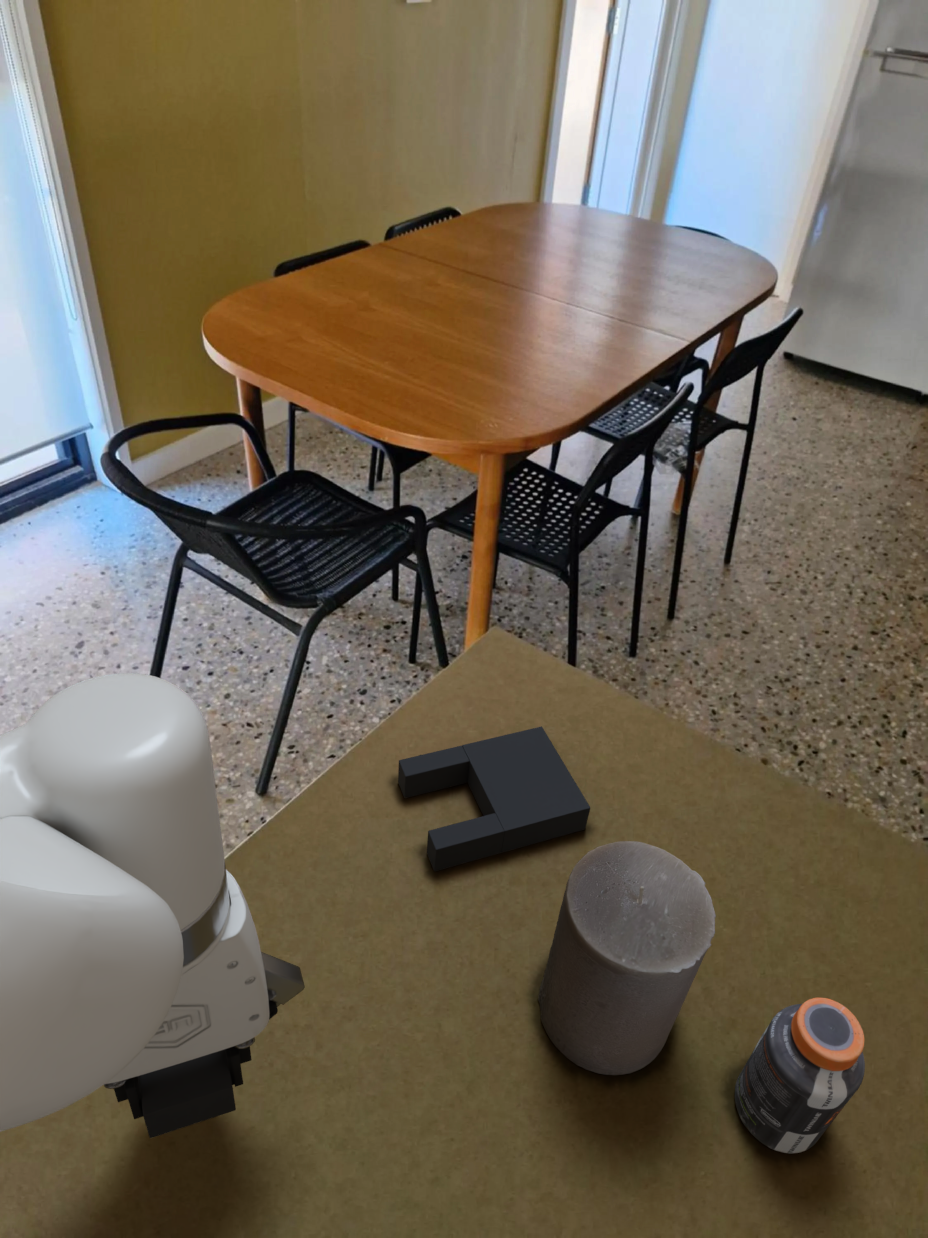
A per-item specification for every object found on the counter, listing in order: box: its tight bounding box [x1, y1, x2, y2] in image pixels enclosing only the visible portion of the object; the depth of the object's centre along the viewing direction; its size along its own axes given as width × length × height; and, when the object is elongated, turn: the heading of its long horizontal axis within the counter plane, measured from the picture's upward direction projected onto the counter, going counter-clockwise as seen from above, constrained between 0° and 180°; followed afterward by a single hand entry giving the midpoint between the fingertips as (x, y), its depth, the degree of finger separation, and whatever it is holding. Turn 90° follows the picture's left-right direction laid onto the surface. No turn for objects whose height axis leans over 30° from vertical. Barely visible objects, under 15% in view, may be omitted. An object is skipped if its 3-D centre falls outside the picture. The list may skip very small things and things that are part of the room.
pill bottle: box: [734, 997, 866, 1154], centre depth 57 cm, size 6×6×11 cm
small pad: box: [140, 1049, 237, 1139], centre depth 54 cm, size 5×5×3 cm
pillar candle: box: [537, 840, 717, 1076], centre depth 60 cm, size 10×10×15 cm
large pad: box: [397, 726, 591, 872], centre depth 78 cm, size 14×10×3 cm
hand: (186, 1076), depth 54 cm, fingers closed on small pad, 5 cm apart
